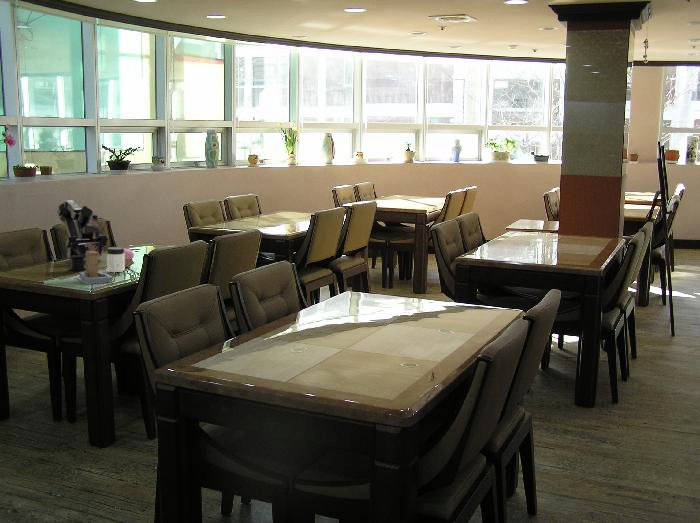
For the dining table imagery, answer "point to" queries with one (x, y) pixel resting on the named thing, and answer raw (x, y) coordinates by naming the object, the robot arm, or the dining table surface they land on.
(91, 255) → the tan tall block
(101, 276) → the grey shallow tray
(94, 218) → the ceramic pitcher
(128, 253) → the cupcake
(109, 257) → the jar
